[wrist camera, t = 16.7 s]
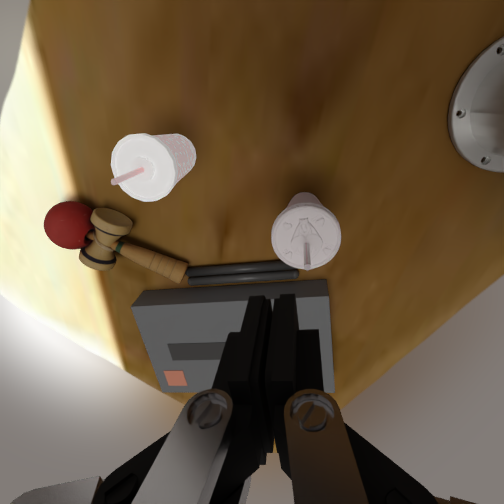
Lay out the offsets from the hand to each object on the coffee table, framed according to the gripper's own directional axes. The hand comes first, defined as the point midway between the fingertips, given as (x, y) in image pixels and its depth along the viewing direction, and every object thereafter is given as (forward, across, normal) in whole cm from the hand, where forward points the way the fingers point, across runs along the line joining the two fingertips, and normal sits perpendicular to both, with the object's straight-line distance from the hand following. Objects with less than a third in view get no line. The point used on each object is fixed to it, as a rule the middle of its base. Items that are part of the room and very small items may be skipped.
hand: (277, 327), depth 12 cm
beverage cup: (+27, +13, -4) cm, 31 cm away
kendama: (+28, +23, +6) cm, 36 cm away
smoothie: (+27, -1, +4) cm, 28 cm away
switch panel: (+27, +10, +20) cm, 35 cm away
